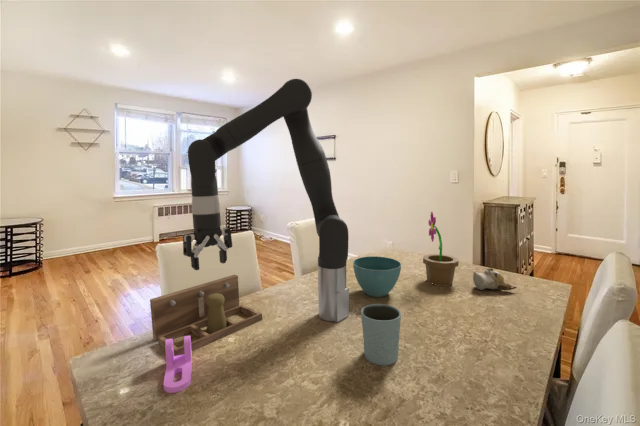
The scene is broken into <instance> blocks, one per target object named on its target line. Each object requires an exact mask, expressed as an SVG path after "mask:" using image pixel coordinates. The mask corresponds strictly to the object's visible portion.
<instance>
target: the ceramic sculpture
mask: <svg viewBox="0 0 640 426" xmlns="http://www.w3.org/2000/svg"><path fill="white" fill-rule="evenodd" d="M472 276H473V277H472V278H473V279H472V280H473V284H474V286H475V288H476V289H477V288H478V289H477V290H479V289H480V291H483V290H485V289H488V288H489V289H488V290H494V289H496V290H501V291H511V290H514V289H517V286H514V285H513V286H512V285H511V284H509V283H506V282H505V279H504V276H503V274H502V273H500V272H498V271H496V270H494V269H493V268H487V269H485V270H484V272H478V271H477V272H476V271H473V274H472Z"/></svg>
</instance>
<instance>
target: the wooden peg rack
mask: <svg viewBox="0 0 640 426" xmlns="http://www.w3.org/2000/svg"><path fill="white" fill-rule="evenodd" d="M239 289H240V288H239V275H237V274H232V275H229V276H225V277H222V278H219V279H215V280H211V281H208V282H205V283H201V284H198V285H194V286H191V287H187V288H184V289H181V290H177V291H174V292H171V293H167V294H164V295H161V296H157V297H153V298H151V299H149V303H150V304H149V305H150V306H149V307H150V314H151V325H152V326H151V327H152V339H153V340H154V341H155V342H158V344H159V345H160V346H161V347H162V348H164V349H165V342H166V339H173V340H175V339H177V338H180V337H182V336H183V337H184V336H186V335H187V334H191V333H192V334H193V335H195V336H196V337H197V338H198V339H196V340H193V341H191V350H192V352H194V351H196V350H197V349H198V350H199V349H200V348H202V347H204V346H207V345H208V344H209V345H210V344H211V343H213V342H215V341H218V340H219V339H222V338H224V337H227V336H228V335H231V334H234V333H235V332H237V331H240V330H242V329H245V328H247V327H250V326H251V325H254V324H255V323H258V322H261V321H262V320H263V313H261V312H260V311H256V310H254V309H252V308H250V307H248V306H246V305H244V304H240V293H239V292H240V291H239ZM212 294H222V295H223V296H224V299H225V301H224V304H223V308H224V313H225V318H226V323H227V327H226V328H223V329H221V330H219V331H216V332H214V333H212V334H208V333H207V331H205V330H203V329H202V328H205V327H207V321H208V309H209V307H208V306H207V303H206V300H207V297H208V296H209V295H212ZM241 313H243V314H245V315H247V316H248V317H247V318H245V319H243V320H240V321H238V322H236V321H234V320H231V319H230V318H229V317H232V316H234V315H238V314H241ZM173 349H174V356H178V355H184V354H185V352H184V344H183V345H181V346H179V347H177V346H176V344H174V343H173Z"/></svg>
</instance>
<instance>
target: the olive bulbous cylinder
mask: <svg viewBox="0 0 640 426" xmlns="http://www.w3.org/2000/svg"><path fill="white" fill-rule="evenodd" d="M224 301H225V299H224V296H223V295H222V294H212V295H209V296H208V297H207V300H206V303H207V306H208V307H209V309H208V321H207V326H206V333H208V334H212V333H214V332H216V331H219V330H221V329H223V328H226V327H227V323H226V318H225V313H224V308H223V304H224Z"/></svg>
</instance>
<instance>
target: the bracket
mask: <svg viewBox="0 0 640 426" xmlns="http://www.w3.org/2000/svg"><path fill="white" fill-rule="evenodd" d="M191 342H192V340H191V335H183V345H184V352H185V354H184V355H178V356H174V349H173V344H174V339H166V342H165V348H164V350H165V351H164V352H165V363H166V368H165V373H164V377H163V378H164V379H163V390H164V391H165V392H167V393H168V394H169V393H171V394H173V393H174V394H176V393H178V392H181V391H184V390H186V389H187V388H188V387H189V386H190V385H191V381H192V363H193V354H192V353H193V351H192V350H191ZM179 373H181V378H180V380H179V381H174V380H175V375H176V374H179Z"/></svg>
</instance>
